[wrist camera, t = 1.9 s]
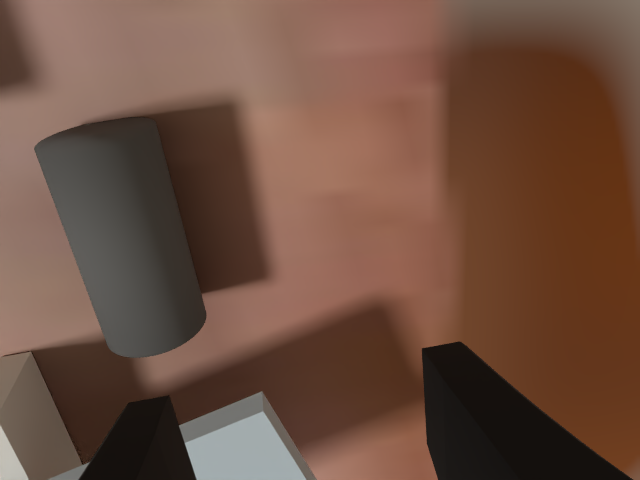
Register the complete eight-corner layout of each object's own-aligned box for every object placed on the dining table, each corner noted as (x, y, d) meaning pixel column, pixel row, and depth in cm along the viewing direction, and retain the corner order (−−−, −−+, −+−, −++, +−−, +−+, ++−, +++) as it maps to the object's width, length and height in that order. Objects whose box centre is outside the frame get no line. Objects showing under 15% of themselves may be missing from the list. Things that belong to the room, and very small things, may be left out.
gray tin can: (145, 294, 19) (223, 302, 18) (84, 351, 16) (171, 363, 15) (89, 118, 16) (178, 115, 15) (6, 155, 14) (106, 154, 13)
